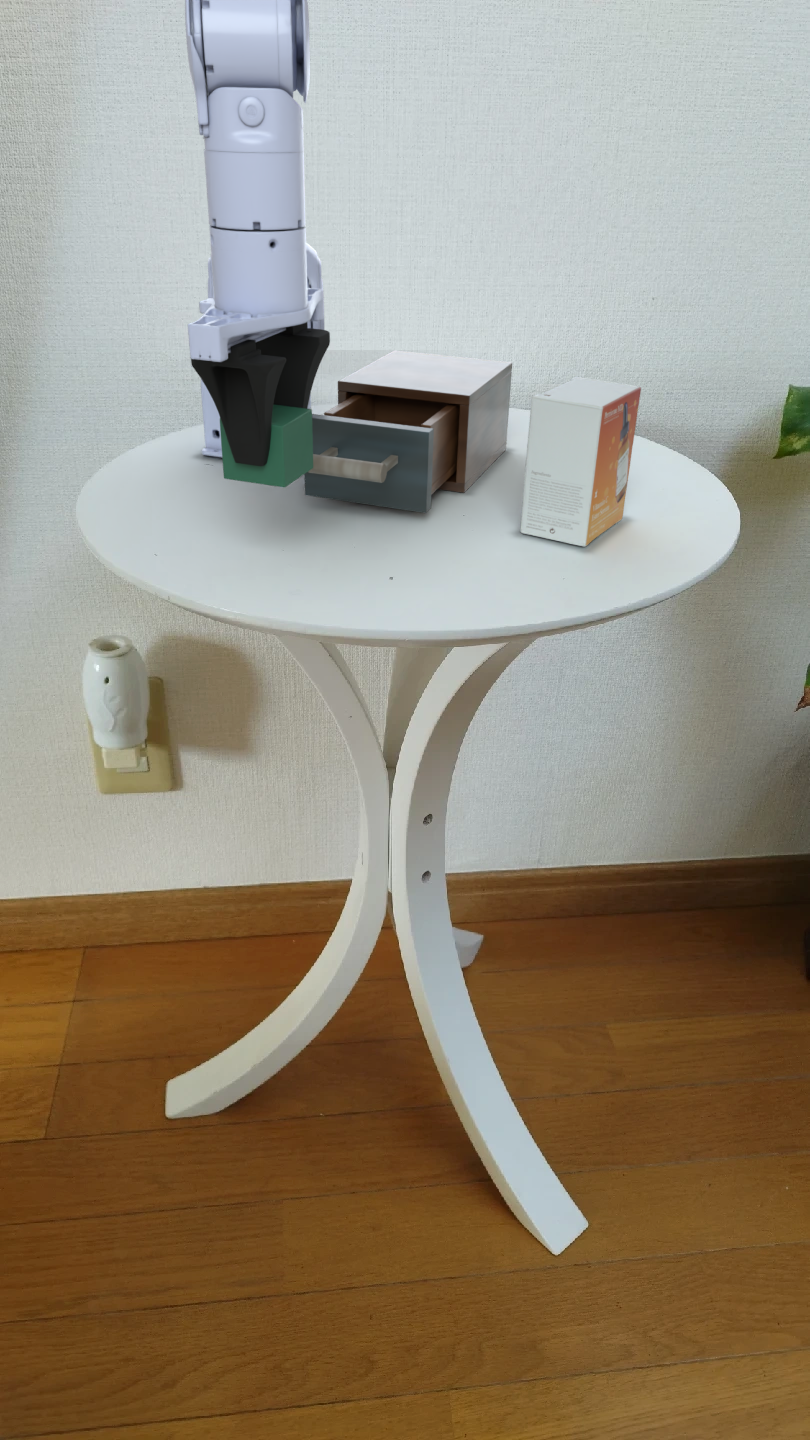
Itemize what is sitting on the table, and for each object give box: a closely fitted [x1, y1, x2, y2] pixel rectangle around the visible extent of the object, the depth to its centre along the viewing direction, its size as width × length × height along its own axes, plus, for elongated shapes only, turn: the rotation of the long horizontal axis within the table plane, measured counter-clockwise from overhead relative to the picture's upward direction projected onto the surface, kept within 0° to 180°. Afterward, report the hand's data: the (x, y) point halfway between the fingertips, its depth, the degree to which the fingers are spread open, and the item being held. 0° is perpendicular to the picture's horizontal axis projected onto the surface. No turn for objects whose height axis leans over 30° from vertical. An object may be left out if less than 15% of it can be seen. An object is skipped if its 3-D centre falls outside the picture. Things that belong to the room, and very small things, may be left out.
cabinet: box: [337, 349, 513, 493], centre depth 91 cm, size 14×12×8 cm
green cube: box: [220, 405, 313, 488], centre depth 67 cm, size 4×4×4 cm
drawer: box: [303, 393, 460, 514], centre depth 82 cm, size 17×10×6 cm, turn 160°
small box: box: [519, 376, 642, 548], centre depth 77 cm, size 8×6×10 cm
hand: (268, 452), depth 68 cm, fingers closed on green cube, 4 cm apart
